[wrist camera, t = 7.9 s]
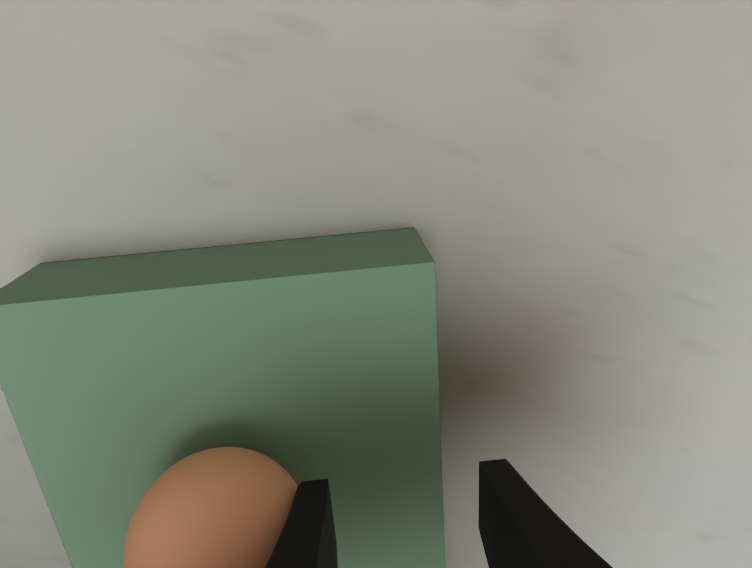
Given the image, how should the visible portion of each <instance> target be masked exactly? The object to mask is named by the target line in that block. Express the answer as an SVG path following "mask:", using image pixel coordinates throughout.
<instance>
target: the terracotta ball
mask: <svg viewBox="0 0 752 568" xmlns="http://www.w3.org/2000/svg"><path fill="white" fill-rule="evenodd" d="M297 487H298V485H297V484H296V482H295V481H294V479H293V478H292V476H291V475H290V474H289V473H288V472H287V471H286V470H285V469H284V468H283V467H282V466H281V465H279V464H278V463H277V462H275V461H274V460H273V459H271V458H269V457H268V456H266V455H264V454H261V453H259V452H256V451H253V450H250V449H246V448H240V447H218V448H211V449H207V450H203V451H200V452H197V453H194V454H192V455H190V456H188V457H186V458H184V459H182V460H180V461H179V462H177V463H176V464H174V465H173V466H171V467H170V468H169V469H167V470H166V471H165V472H164V473H163V474H161V475H160V476H159V477H158V478H157V479H156V480H155V481H154V483H153V484H152V485H151V486H150V487H149V488H148V490H147V491H146V492H145V494H144V495H143V497H142V498H141V500H140V501H139V503H138V505H137V507H136V509H135V511H134V513H133V516H132V518H131V520H130V524H129V527H128V530H127V534H126V537H125V545H124V553H123V563H124V568H265V567H266V565H267V563H268V561H269V559H270V556H271V554H272V552H273V550H274V547H275V545H276V543H277V541H278V539H279V536H280V534H281V532H282V529H283V527H284V524H285V522H286V520H287V517H288V514H289V512H290V509H291V506H292V503H293V500H294V497H295V494H296V491H297Z"/></svg>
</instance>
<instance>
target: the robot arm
mask: <svg viewBox="0 0 752 568" xmlns="http://www.w3.org/2000/svg"><path fill="white" fill-rule="evenodd" d="M479 530H480V534H481V538H482V542H483V546H484V550H485V554H486V558H487V561H488V565H489V568H613V567H611V566H610V565H609V564H608V563H607V562H606V561H605V560H603V559H602V558H601V557H600V556H599V555H598V554H597V553H596V552H595V551H594V550H592V549H591V548H590V547H589V546H588V545H587V544H586V543H585V542H584V541H583V540H582V539H581V538H580V537H578V536H577V535H576V534H575V533H574V532H573V531H572V530H571V529H570V528H569V527H568V526H567V525H566V524H565V523H564V522H563V521H562V520H561V519H560V518H559V517H558V516H557V515H556V514H555V513H554V512H553V511H552V510H551V509H550V507H549V506H548V505H547V504H546V503H545V502H544V501H543V500H542V499H541V498H540V497H539V496H538V495H537V494H536V492H535V491H534V490H533V489H532V488H531V487H530V486H529V485H528V484H527V482H526V481H525V480H524V479H523V478H522V477H521V476H520V475H519V473H518V472H517V471H516V470H515V469H514V468H513V466H512V465H511V464H510V463H509V462H508V461H507V460H506V459H499V460H490V461H481V462H479ZM265 568H338V563H337V542H336V534H335V526H334V519H333V511H332V503H331V496H330V488H329V480H328V479H319V480H310V481H302V482H301V483H300V484H299V485H298V487H297V491H296V494H295V497H294V500H293V503H292V506H291V509H290V512H289V514H288V517H287V520H286V522H285V524H284V527H283V529H282V532H281V534H280V536H279V539H278V541H277V543H276V545H275V547H274V550H273V552H272V554H271V556H270V559H269V561H268V563H267V565H266V567H265Z"/></svg>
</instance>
